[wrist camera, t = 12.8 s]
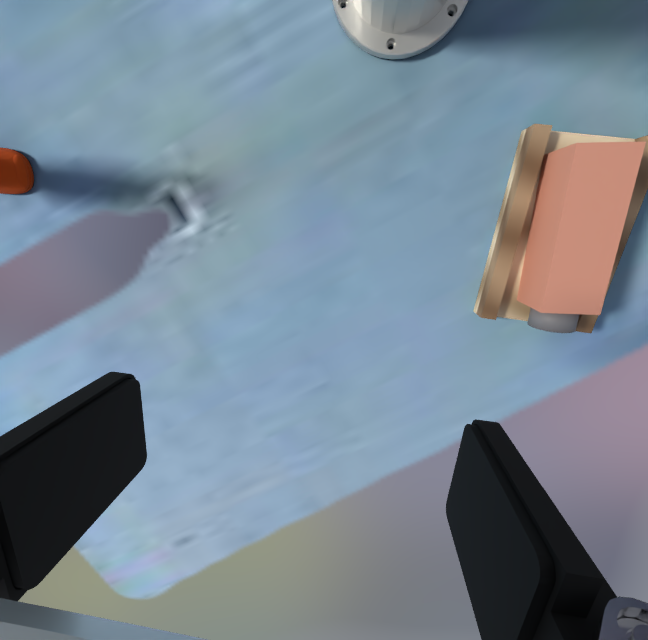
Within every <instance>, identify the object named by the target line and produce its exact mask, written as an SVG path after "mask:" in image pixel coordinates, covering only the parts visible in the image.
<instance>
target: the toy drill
mask: <svg viewBox="0 0 648 640" xmlns="http://www.w3.org/2000/svg"><path fill="white" fill-rule="evenodd" d="M33 183H34V175H33V170H32V167H31V165H30V163H29V161H28V159H27V158H26V157H25V156H24V155H23V154H21V153H19V152H17V151H15V150H11V149H7V148H0V193H3V194H21V193H26V192H28V191H29V190H31V188H32V187H33Z"/></svg>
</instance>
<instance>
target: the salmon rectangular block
mask: <svg viewBox="0 0 648 640" xmlns="http://www.w3.org/2000/svg"><path fill="white" fill-rule="evenodd" d="M645 144H646V142H592V143H575V144H572V145H569V146H567V147H564V148H561V149H558V150H556V151H553V152H550V153H548V154H545V155H544V156H543V160H542V166H541V171H540V177H539V182H538V188H537V193H536V198H535V204H534V209H533V215H532V220H531V225H530V231H529V236H528V242H527V247H526V253H525V258H524V263H523V269H522V274H521V280H520V285H519V291H518V296H517V301H519V302H521V303H523V304H525V305H527V306H529V307H531V308H530V313H529V318H528V325H529V326H531V327H534V328H536V329H540V330H544V331H549V332H557V333H572V332H575V331H576V327H577V323H578V319H579V314H586V315H600V314H601V310H602V307H603V303H604V299H605V295H606V291H607V288H608V284H609V280H610V276H611V272H612V269H613V265H614V261H615V257H616V254H617V250H618V246H619V242H620V238H621V235H622V231H623V227H624V223H625V220H626V216H627V212H628V208H629V204H630V201H631V197H632V193H633V189H634V186H635V182H636V178H637V174H638V170H639V167H640V163H641V159H642V155H643V152H644V148H645Z"/></svg>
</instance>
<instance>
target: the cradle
mask: <svg viewBox="0 0 648 640" xmlns="http://www.w3.org/2000/svg"><path fill="white" fill-rule="evenodd" d="M551 129H552V125H542V124H534V125H532V126H530V127H528V128H527V129H525V130H523V131H522V132H521V136H520V139H519V143H518V147H517V150H516V154H515V158H514V162H513V165H512V169H511V173H510V177H509V180H508V184H507V188H506V192H505V195H504V199H503V203H502V207H501V210H500V214H499V218H498V221H497V225H496V229H495V233H494V236H493V240H492V244H491V248H490V251H489V255H488V259H487V263H486V266H485V270H484V274H483V277H482V281H481V285H480V289H479V292H478V296H477V300H476V304H475V307H474V312H475V313H476V314H477V315H479V316H480V317H481V318H487V319H494V320H496V317H503V318H510V319H517V320H524V321H528V318H529V313H530V308H531V307H529V306H527V305H525V304H523V303H521V302H519V301H517V296H518V291H519V285H520V280H521V274H522V269H523V263H524V258H525V253H526V247H527V242H528V236H529V231H530V225H531V220H532V215H533V209H534V204H535V198H536V193H537V188H538V182H539V177H540V171H541V166H542V160H543V156H544V155H545V154H548V153H550V152H553V151H556V150H558V149H561V148H564V147H567V146H569V145H572V144H575V143H592V142H646V144H645V148H644V152H643V155H642V159H641V163H640V167H639V170H638V174H637V178H636V182H635V186H634V189H633V193H632V197H631V201H630V204H629V208H628V212H627V216H626V220H625V223H624V227H623V231H622V235H621V238H620V242H619V246H618V250H617V254H616V257H615V261H614V265H613V269H612V272H611V276H610V280H609V284H608V288H607V291H606V294H607V292H608V289H609V286H610V284H611V281H612V279H613V276H614V274H615V271H616V268H617V266H618V263H619V261H620V258H621V256H622V253H623V251H624V248H625V245H626V243H627V240H628V238H629V235H630V233H631V230H632V227H633V225H634V222H635V220H636V217H637V215H638V212H639V210H640V207H641V204H642V202H643V199H644V197H645V194H646V192H647V189H648V135H647V136H644V137H641V138H638V139H629V138H619V137H608V136H598V135H588V134H578V133H568V132H557V131H551ZM605 297H606V295H605ZM597 317H598V315H586V314H579V319H578V323H577V327H576V331H579V332H586V333H592V330H593V327H594V325H595V322H596V320H597Z"/></svg>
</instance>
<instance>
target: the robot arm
mask: <svg viewBox="0 0 648 640" xmlns="http://www.w3.org/2000/svg"><path fill="white" fill-rule="evenodd" d="M468 1H469V0H332V2H333V6H334V10H335V13H336V15H337V18H338V20H339V23H340V25H341V26H342V28H343V30H344V31H345V33H346V34H347V36H348V37H349V38H350V39H351V40H352V41H353V42H354V43H355V44H356V45H357V46H358V47H359V48H361V49H362V50H364V51H365V52H367V53H369V54H371V55H374V56H377V57H379V58H386V59H404V58H408V57H411V56H415V55H418V54H420V53H422V52H424V51H426V50H427V49H429V48H431V47H432V46H434V45H435V44H436V43H437V42H439V41H440V40H441V39H443V38H444V37H445V35H446V34H447V33H448V32H449V31H450V30H451V29H452V28H453V26H454V25H455V24H456V22H457V20H458V19H459V17H460V16H461V14H462V13H463V11H464V9H465V7H466V5H467V3H468ZM342 6H346V7H345V8H341V7H342ZM449 13H450V14H452V16H449V15H448V14H449ZM389 46H392V47H393V49H392V50H389V49H388V47H389ZM146 459H147V451H146V441H145V431H144V421H143V411H142V401H141V391H140V384H139V382H138V381H137V380H136V379H135V377H134V376H133V375H132V374H126V373H119V372H109V373H107V374H106V375H104V376H102V377H100V378H99V379H97V380H95V381H94V382H92V383H90V384H89V385H87V386H85V387H83V388H82V389H80V390H78V391H77V392H75V393H73V394H72V395H70V396H68V397H66V398H65V399H63V400H61V401H60V402H58V403H56V404H55V405H53V406H51V407H50V408H48V409H46V410H44V411H43V412H41V413H39V414H38V415H36V416H34V417H33V418H31V419H29V420H27V421H26V422H24V423H22V424H21V425H19V426H17V427H16V428H14V429H12V430H10V431H9V432H7V433H5V434H4V435H2V436H0V640H207V639H202V638H197V637H192V636H187V635H183V634H178V633H173V632H168V631H163V630H158V629H153V628H148V627H143V626H138V625H133V624H128V623H124V622H118V621H114V620H108V619H104V618H99V617H94V616H89V615H84V614H79V613H73V612H69V611H63V610H58V609H53V608H48V607H43V606H38V605H33V604H27V603H23V602H18V600H19V599H20V598H21V597H22V596H23V595H24V594H25V592H26V591H27V590H29V589H32V588H34V587H35V586H37V585H38V584H39V583H40V582H41V581H42V580H43V579H44V578H45V576H46V575H47V574H48V573H49V572H50V571H51V570H52V569H53V568H54V566H55V565H56V564H57V563H58V562H59V561H60V560H61V559H62V558H63V556H64V555H65V554H66V553H67V552H68V551H69V550H70V549H71V548H72V547H73V545H74V544H75V543H76V542H77V541H78V540H79V539H80V538H81V536H82V535H83V534H84V533H85V532H86V531H87V530H88V529H89V528H90V526H91V525H92V524H93V523H94V522H95V521H96V520H97V519H98V518H99V516H100V515H101V514H102V513H103V512H104V511H105V510H106V509H107V508H108V506H109V505H110V504H111V503H112V502H113V501H114V500H115V499H116V498H117V496H118V495H119V494H120V493H121V492H122V491H123V490H124V489H125V487H126V486H127V485H128V484H129V483H130V482H131V481H132V480H133V479H134V477H135V476H136V475H137V474H138V473H139V472H140V471H141V470H142V468H143V467H144V465H145V462H146ZM446 514H447V519H448V522H449V526H450V530H451V533H452V537H453V540H454V544H455V547H456V551H457V554H458V558H459V561H460V565H461V568H462V572H463V575H464V579H465V582H466V586H467V590H468V593H469V597H470V600H471V603H472V607H473V611H474V614H475V618H476V621H477V625H478V628H479V632H480V635H481V639H482V640H648V603H646V602H643V601H640V600H637V599H635V598H629V597H617V596H616V595H615V593H614V592H613V590H612V589H611V587H610V586H609V584H608V583H607V581H606V580H605V578H604V577H603V576H602V574H601V573H600V571H599V570H598V568H597V567H596V565H595V564H594V562H593V561H592V559H591V558H590V556H589V555H588V554H587V552H586V550H585V549H584V547H583V546H582V544H581V543H580V542H579V540H578V539H577V537H576V536H575V534H574V533H573V531H572V530H571V528H570V527H569V525H568V524H567V522H566V521H565V519H564V518H563V516H562V515H561V513H560V512H559V511H558V509H557V508H556V506H555V505H554V503H553V502H552V500H551V499H550V497H549V496H548V494H547V493H546V491H545V490H544V488H543V487H542V486H541V484H540V483H539V481H538V480H537V479H536V477H535V475H534V474H533V473H532V471H531V470H530V468H529V467H528V465H527V464H526V462H525V461H524V459H523V458H522V456H521V455H520V453H519V452H518V450H517V449H516V447H515V446H514V444H513V443H512V442H511V440H510V438H509V437H508V436H507V434H506V433H505V431H504V430H503V428H502V427H501V425H500V424H499V423H497V422H490V421H483V420H474V421H473V422H472V425H471V424H467V425H466V426H465V428H464V432H463V436H462V440H461V444H460V448H459V453H458V457H457V461H456V465H455V469H454V473H453V478H452V482H451V486H450V490H449V494H448V498H447V503H446Z"/></svg>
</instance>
